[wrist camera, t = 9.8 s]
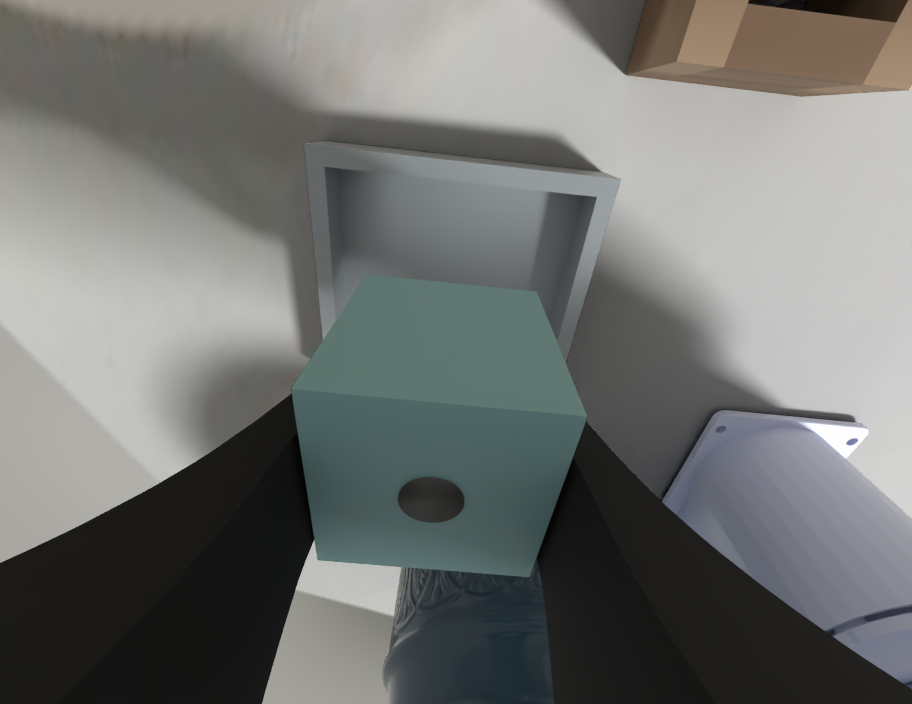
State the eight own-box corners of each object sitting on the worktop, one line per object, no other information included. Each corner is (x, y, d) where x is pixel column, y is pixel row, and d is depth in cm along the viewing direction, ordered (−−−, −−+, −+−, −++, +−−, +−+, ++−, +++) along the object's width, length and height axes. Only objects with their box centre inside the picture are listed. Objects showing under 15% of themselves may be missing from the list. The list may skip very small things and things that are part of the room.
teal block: (507, 420, 12) (529, 579, 8) (369, 407, 12) (316, 562, 8) (536, 291, 10) (588, 418, 6) (366, 274, 10) (289, 390, 6)
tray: (542, 391, 19) (549, 417, 18) (340, 371, 19) (328, 396, 17) (602, 171, 14) (620, 179, 12) (323, 140, 14) (303, 143, 12)
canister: (474, 418, 21) (494, 1239, 6) (650, 503, 24) (963, 1164, 9) (373, 538, 27) (251, 1089, 12) (525, 593, 30) (583, 1078, 15)
